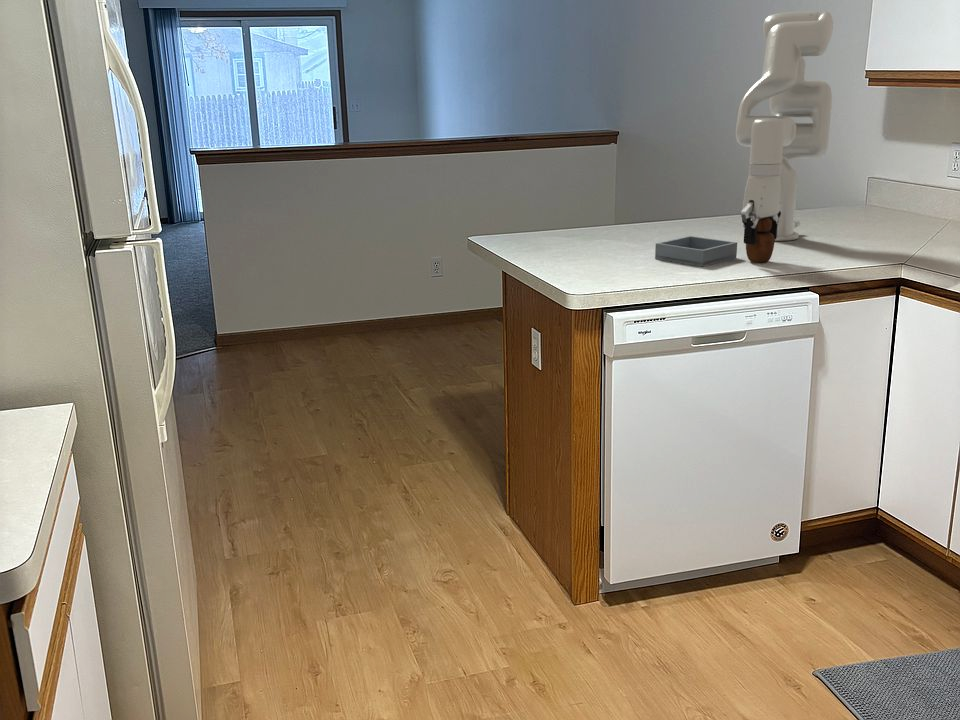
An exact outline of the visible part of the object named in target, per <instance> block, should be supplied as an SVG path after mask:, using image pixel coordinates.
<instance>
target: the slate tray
mask: <svg viewBox="0 0 960 720" xmlns="http://www.w3.org/2000/svg"><path fill="white" fill-rule="evenodd" d="M654 249H655V252H654V253H655V254H654V255H655V256H654V259H655V260H660V261H665V260H666V261H667V262H671V261H672V262H673V263H677V262H678V263H677V264H683V263H684V265H689V264H691V266H695V265H697V266H696V267H701V266H703V267H707V266H710V264H711V265H714V264H713V263H715V264H718V263H717V262H719V263H722V262H721V261H723V262H726V260H727V261H730V260H733V259H737V254H738V253H737V252H738V242H735V241H729V240H723V239H715V238H709V237H700V236H693V235H687V236H683V237H680V238H674V239H671V240H666V241H662V242H661V241H660V242H656V243H655V248H654ZM666 261H665V262H666ZM706 265H707V266H706Z"/></svg>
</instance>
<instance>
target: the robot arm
mask: <svg viewBox="0 0 960 720" xmlns="http://www.w3.org/2000/svg"><path fill="white" fill-rule="evenodd" d="M833 20H834V19H833V17H832V15H831V12H828V11H824V10H818V11H817V10H813V11H787V12H786V11H785V12H777V13H773V14H769V15H768V16H767V17H766V18H765V19H764V21H763V26H762V29H763V30H762V31H763V37H764V42H765V53H764V60H763V65H762V66H763V67H762V73H761V78H760V79H758V81H756V82H755V83H754V84H753V85H752V86H751V87H750V88H749V89H748V90H747V92H746V93H745V95H744V96H743V97H742V100H741V101H740V103H739V108H738V111H737V119H736V126H735V140H736V142H737V143H738V144H739V146H743V147H749V148H750V152H749V168H748V177H747V179H746V184H745V188H744V195H743V200H742V201H743V202H742V210H741V211H740V215H741V216H740V217H741V222H742V223H743V225H742V226H743V228H744V229H743V230H744V231H743V232H744V233H743V244H745V245H746V244H752V245H754V244H756V237H757V228H755V227H756V225H757V222H758V220H759V219H762V218H767V217H770V219H771V221H772V227H771V230H770V231H769V232H770V233H772V234H773V236H774V240H775V241H774V242H780V241H781V242H782V241H783V242H784V241H787V242H788V241H793V240H797V239H799V237H800V236H799V235H800V234H799V232H796V231H795V228H799V227H800V226H801V222H800V220H795V215H796V201H797V200H796V199H797V189H798V176H799V175H798V173H797V170H796V168H795V167H794V166H793V164H792V163H791V161H790V160H792V159H793V160H795V159H798V160H799V159H803V160H805V159H807V160H812V159H813V160H816V159H820V158H821V159H822V158H823V157H824V156H825V155H826V153H827V150H828V145H829V138H830V125H831V116H832V115H831V114H832V113H831V111H832V101H833V100H832V99H833V96H832V95H833V94H832V93H833V92H832V89H831V86H830V84H829V83H827V82H825V81H819V80H807V81H806V80H805V71H806V61H805V58H804V57H820V56H822V55H824V54H825V53H826V51H827V48H828V46H829V44H830V41H831V38H832V35H833V30H834V21H833ZM767 99H769V111H770V114H771V115H751V113H752V111H753V109H754V108H755V107H756V106H757V105H759V104H760V103H762V102H763V101H765V100H767ZM795 118H796V119H797V118H798V119H799V118H800V119H801V118H802V119H803V118H805V119H806V118H807V119H811V121H812V122H795V120H794V119H795ZM755 215H756V216H755ZM752 219H753V222H752Z"/></svg>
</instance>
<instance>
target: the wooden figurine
mask: <svg viewBox="0 0 960 720" xmlns="http://www.w3.org/2000/svg"><path fill="white" fill-rule="evenodd" d="M755 216H756V215H755ZM751 221H752V222H753V219H751ZM771 227H772V221H771V219H770V217H767V218H762V219H759V220H758V222H757V225H756V227H755V228H757V237H756V244H754V245H752V244H745V251H746V257H747V259H748V260H749V262H752V263H755V264H756V263H757V264H762V263H763V264H764V263H767V262H769V261H770V260H771V258H772V254H773V252H774V248H775V242H776V241H775V240H774V236H773V234H772V233H770V232H769V231H770V230H771Z"/></svg>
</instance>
